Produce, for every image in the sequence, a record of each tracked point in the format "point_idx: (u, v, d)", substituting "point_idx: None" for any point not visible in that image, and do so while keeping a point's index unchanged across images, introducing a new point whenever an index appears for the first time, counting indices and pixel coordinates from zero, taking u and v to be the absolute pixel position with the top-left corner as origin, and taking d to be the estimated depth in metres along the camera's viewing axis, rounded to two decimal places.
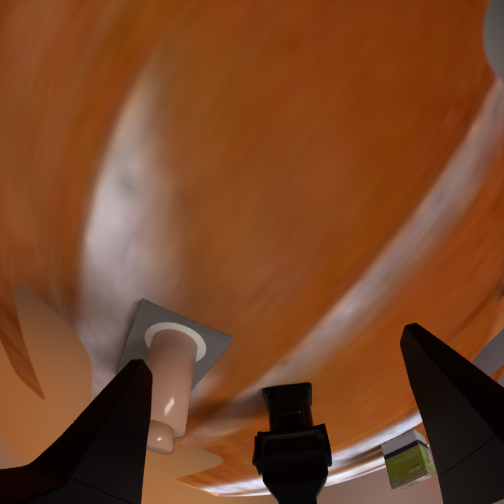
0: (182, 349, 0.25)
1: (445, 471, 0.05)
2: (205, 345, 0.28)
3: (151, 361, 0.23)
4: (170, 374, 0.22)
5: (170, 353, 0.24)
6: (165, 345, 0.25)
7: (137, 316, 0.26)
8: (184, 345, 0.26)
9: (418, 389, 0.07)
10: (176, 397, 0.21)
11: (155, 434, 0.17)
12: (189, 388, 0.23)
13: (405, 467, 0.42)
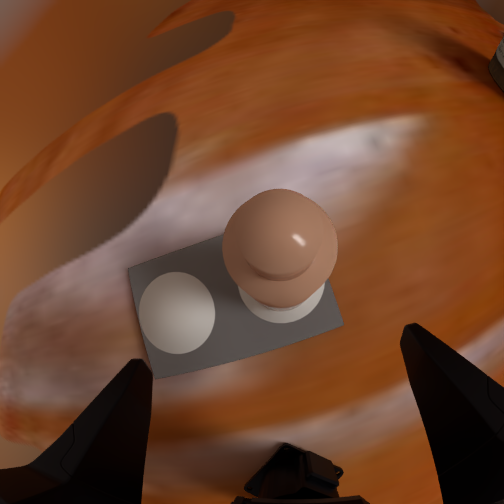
0: None
1: (445, 471, 0.05)
2: (315, 306, 0.21)
3: None
4: None
5: None
6: None
7: None
8: None
9: (418, 389, 0.07)
10: None
11: None
12: None
13: None
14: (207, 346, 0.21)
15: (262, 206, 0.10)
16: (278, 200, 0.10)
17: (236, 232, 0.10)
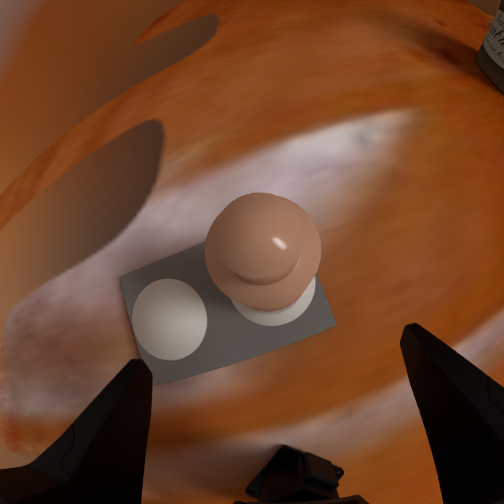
0: None
1: (445, 471, 0.05)
2: (306, 307, 0.21)
3: None
4: None
5: None
6: None
7: None
8: None
9: (418, 389, 0.07)
10: None
11: None
12: None
13: None
14: (200, 351, 0.21)
15: (240, 211, 0.10)
16: (256, 204, 0.10)
17: (215, 238, 0.10)
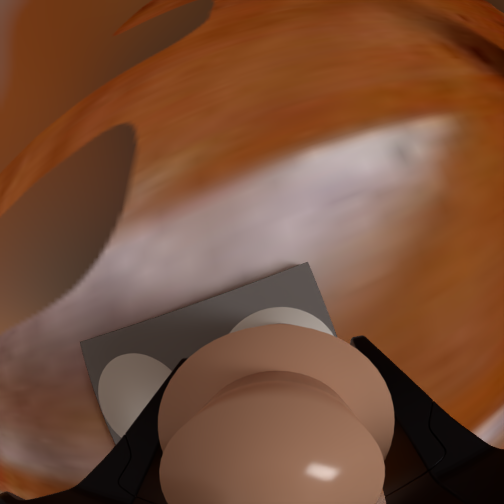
0: None
1: (390, 493, 0.05)
2: None
3: (296, 325, 0.11)
4: None
5: None
6: None
7: (281, 274, 0.16)
8: None
9: None
10: None
11: None
12: None
13: None
14: None
15: (222, 446, 0.03)
16: (269, 432, 0.03)
17: (164, 489, 0.03)
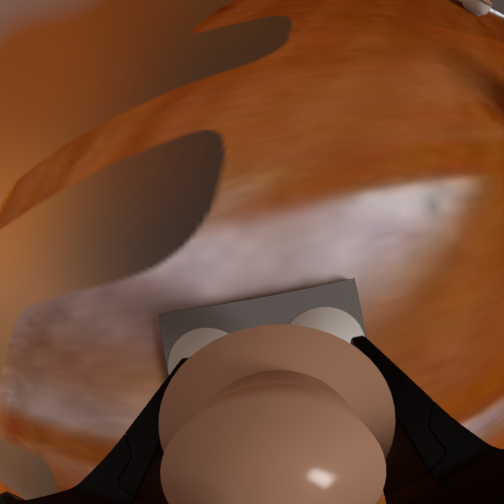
0: None
1: (389, 493, 0.05)
2: None
3: None
4: None
5: None
6: None
7: (334, 284, 0.21)
8: None
9: None
10: None
11: None
12: None
13: None
14: None
15: (224, 446, 0.03)
16: (270, 432, 0.03)
17: (165, 489, 0.03)
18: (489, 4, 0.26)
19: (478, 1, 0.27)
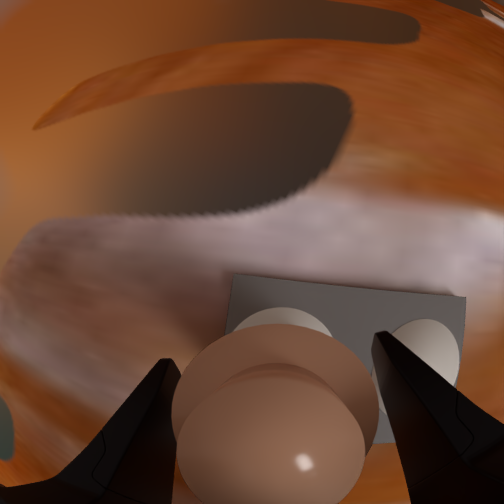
0: None
1: (414, 484, 0.05)
2: None
3: None
4: None
5: None
6: None
7: (448, 298, 0.15)
8: None
9: (387, 399, 0.07)
10: None
11: None
12: None
13: None
14: None
15: (230, 421, 0.04)
16: (267, 408, 0.04)
17: (180, 462, 0.04)
18: None
19: None
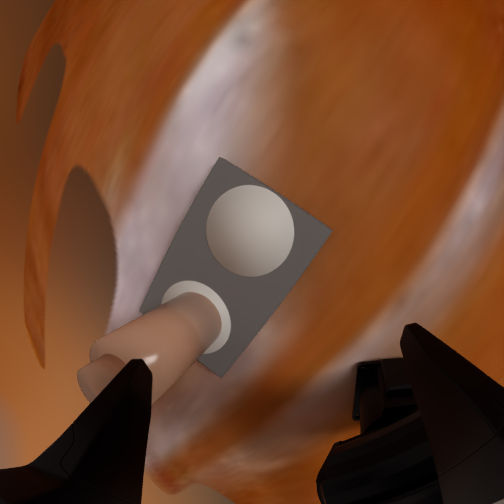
0: (186, 301, 0.20)
1: (445, 471, 0.05)
2: (293, 233, 0.20)
3: None
4: (154, 314, 0.17)
5: (168, 303, 0.20)
6: (167, 301, 0.21)
7: (209, 176, 0.21)
8: (191, 299, 0.21)
9: (418, 389, 0.07)
10: (148, 331, 0.15)
11: (95, 364, 0.12)
12: (182, 337, 0.17)
13: None
14: (235, 327, 0.22)
15: (85, 390, 0.12)
16: (82, 381, 0.12)
17: None
18: None
19: None
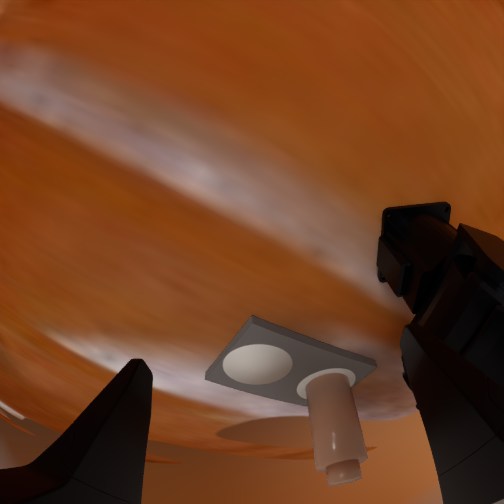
0: (309, 401, 0.26)
1: (445, 471, 0.05)
2: (256, 344, 0.24)
3: None
4: (311, 430, 0.23)
5: None
6: None
7: (219, 383, 0.27)
8: (308, 395, 0.26)
9: (418, 389, 0.07)
10: (317, 443, 0.21)
11: (327, 479, 0.18)
12: (326, 421, 0.22)
13: None
14: (333, 366, 0.26)
15: (344, 483, 0.18)
16: (338, 484, 0.18)
17: (358, 479, 0.18)
18: None
19: None
